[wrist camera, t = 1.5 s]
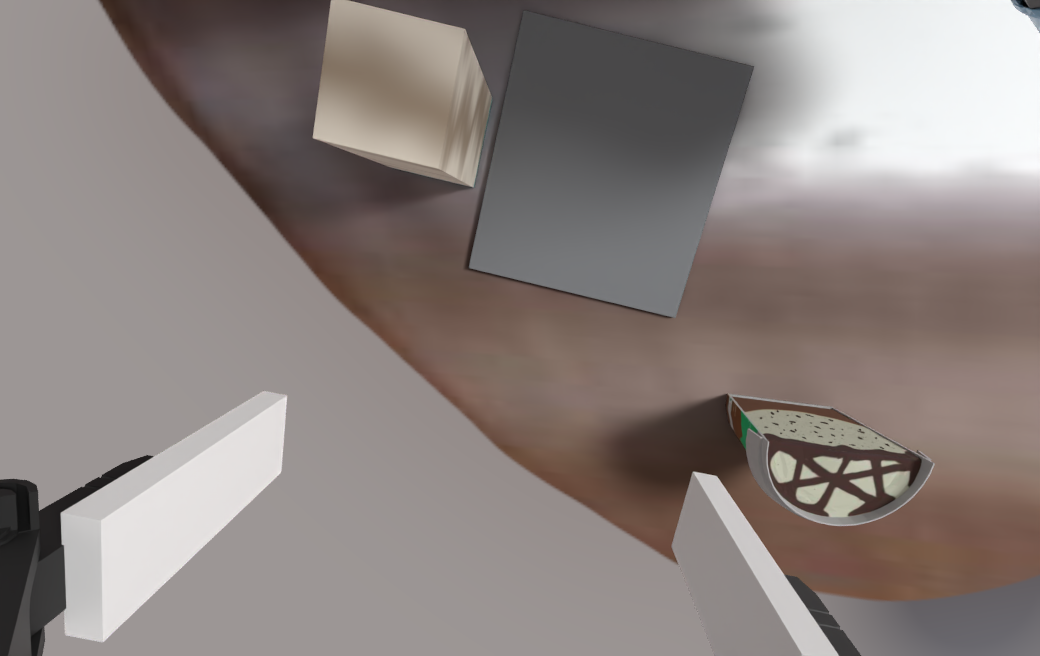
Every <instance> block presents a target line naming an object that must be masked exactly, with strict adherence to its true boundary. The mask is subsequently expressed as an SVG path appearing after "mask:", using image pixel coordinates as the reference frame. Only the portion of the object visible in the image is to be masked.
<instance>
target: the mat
mask: <svg viewBox="0 0 1040 656" xmlns="http://www.w3.org/2000/svg"><path fill="white" fill-rule="evenodd" d="M753 68H754V66H750V65H746V64H742V63H737V62H733V61H729V60H725V59H721V58H717V57H713V56H709V55H705V54H701V53H697V52H693V51H689V50H684V49H680V48H676V47H672V46H668V45H664V44H660V43H656V42H652V41H648V40H644V39H640V38H636V37H632V36H627V35H623V34H619V33H615V32H611V31H607V30H603V29H599V28H595V27H591V26H587V25H583V24H579V23H574V22H570V21H566V20H562V19H558V18H554V17H550V16H546V15H542V14H538V13H534V12H530V11H526V10H523V15H522V19H521V24H520V29H519V34H518V38H517V43H516V48H515V52H514V57H513V62H512V67H511V71H510V76H509V81H508V85H507V90H506V95H505V99H504V104H503V109H502V114H501V118H500V123H499V128H498V132H497V137H496V142H495V147H494V151H493V156H492V161H491V165H490V170H489V175H488V180H487V184H486V189H485V194H484V198H483V203H482V208H481V212H480V217H479V222H478V227H477V231H476V236H475V241H474V245H473V250H472V255H471V260H470V264H469V268H471V269H475V270H479V271H483V272H487V273H492V274H496V275H500V276H504V277H508V278H512V279H516V280H521V281H525V282H529V283H533V284H537V285H541V286H545V287H549V288H554V289H558V290H562V291H566V292H570V293H574V294H578V295H583V296H587V297H591V298H595V299H599V300H603V301H607V302H612V303H616V304H620V305H624V306H628V307H632V308H636V309H641V310H645V311H649V312H653V313H657V314H661V315H665V316H670V317H674V318H675V317H676V314H677V311H678V308H679V304H680V301H681V298H682V295H683V292H684V289H685V285H686V282H687V279H688V276H689V273H690V269H691V266H692V263H693V260H694V257H695V253H696V250H697V247H698V244H699V241H700V237H701V234H702V231H703V228H704V225H705V221H706V218H707V215H708V212H709V209H710V206H711V202H712V199H713V196H714V193H715V190H716V186H717V183H718V180H719V177H720V174H721V170H722V167H723V164H724V161H725V158H726V154H727V151H728V148H729V145H730V142H731V138H732V135H733V132H734V129H735V126H736V123H737V119H738V116H739V113H740V110H741V107H742V103H743V100H744V97H745V94H746V91H747V87H748V84H749V81H750V78H751V75H752V71H753Z"/></svg>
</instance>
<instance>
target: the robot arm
mask: <svg viewBox="0 0 1040 656" xmlns="http://www.w3.org/2000/svg"><path fill="white" fill-rule="evenodd" d="M1011 1H1012V3H1013V5H1014V6H1015V8H1016V9H1017V10H1019V11H1020V12H1022V13H1024V14H1026V15H1028V16H1029V18H1030V19H1031V21H1032V22H1033V24H1034V25H1035V27H1036V28H1037V30H1038V31H1039V32H1040V0H1011ZM286 403H287V395H283V394H278V393H272V392H267V391H263V392H261V393H259V394H258V395H256V396H254V397H253V398H251V399H249V400H248V401H246V402H244V403H243V404H241V405H239V406H238V407H236V408H234V409H233V410H231V411H229V412H228V413H226V414H225V415H223V416H221V417H219V418H218V419H216V420H214V421H213V422H211V423H209V424H208V425H206V426H204V427H203V428H201V429H199V430H198V431H196V432H194V433H193V434H191V435H189V436H188V437H186V438H184V439H183V440H181V441H179V442H178V443H176V444H174V445H173V446H171V447H169V448H168V449H166V450H165V451H163V452H161V453H159V454H158V455H156V456H148V455H147V456H144V457H140V458H137V459H134V460H131V461H128V462H125V463H122V464H121V465H119V466H117V467H115V468H113V469H112V470H110V471H108V472H106V473H105V474H103V475H102V477H101V478H99V477H98V478H96V479H94V480H92V481H91V482H89V483H87V484H86V485H85V487H80V488H78V489H77V490H75V491H73V492H72V493H70V494H68V495H66V496H65V497H63V498H61V499H59V500H57V501H56V502H54V503H52V504H51V505H49V506H47V507H45V508H44V509H42V510H40V511H39V505H38V490H37V486H36V485H35V484H33V483H31V482H29V481H27V480H18V479H4V480H0V656H42V654H43V648H44V642H45V632H44V626H45V625H46V624H47V623H49V622H50V621H51V620H52V619H54V618H55V617H56V616H57V615H59V614H60V613H61V612H62V611H63V610H64V615H65V616H64V618H65V635H68V636H73V637H78V638H83V639H88V640H94V641H99V642H104V641H105V640H106V639H107V638H108V637H109V636H110V635H111V634H112V633H113V632H114V631H115V630H116V629H117V628H118V627H119V626H121V624H123V623H124V622H125V621H126V620H127V619H128V618H129V617H130V616H131V615H132V614H133V613H134V612H135V611H136V610H137V609H138V608H139V607H140V606H141V605H143V604H144V603H145V602H146V601H147V600H148V599H149V598H150V597H151V596H152V595H153V594H154V593H155V592H156V591H157V590H158V589H159V588H160V587H161V586H163V584H165V583H166V582H167V581H168V580H169V579H170V578H171V577H172V576H173V575H174V574H175V573H176V572H177V571H178V570H179V569H180V568H181V567H183V566H184V565H185V564H186V562H188V561H189V560H190V559H191V558H192V557H193V556H194V555H195V554H196V553H197V552H198V551H199V550H200V549H201V548H202V547H204V545H206V544H207V543H208V542H209V541H210V540H211V539H212V538H213V537H214V536H215V535H216V534H217V533H218V532H219V531H220V530H221V529H222V528H223V527H225V525H227V524H228V523H229V522H230V521H231V520H232V519H233V518H234V517H235V516H236V515H237V514H238V513H239V512H240V511H241V510H242V509H243V508H244V507H246V506H247V505H248V504H249V503H250V502H251V501H252V500H253V499H254V498H255V497H256V496H257V495H258V494H259V493H260V492H261V491H262V490H263V489H264V488H265V487H266V486H268V485H269V484H270V483H271V482H272V481H273V480H274V479H275V478H276V477H277V476H278V475H279V474H280V473H281V469H282V456H283V444H284V430H285V417H286ZM672 549H673V551H674V554H675V557H676V559H677V562H678V564H679V567H680V569H681V572H682V574H683V577H684V579H685V582H686V584H687V587H688V589H689V592H690V595H691V597H692V600H693V602H694V605H695V607H696V610H697V612H698V615H699V618H700V620H701V623H702V625H703V628H704V630H705V633H706V635H707V638H708V640H709V643H710V646H711V648H712V651H713V653H714V656H861V655H860V653H859V652H858V651H857V649H856V648H855V646H854V645H853V644H852V642H851V641H850V640H849V639H848V637H847V636H846V634H845V633H844V631H843V630H840V626H839V625H838V623H837V622H836V621H835V619H834V618H833V616H832V615H829V611H828V610H827V608H826V607H825V606H824V604H823V603H822V601H821V600H820V599H819V597H818V596H817V595H816V593H814V592H813V591H812V590H811V589H810V588H809V587H808V586H806V585H805V584H804V583H803V582H802V581H801V580H800V579H798V578H797V577H794V576H789V575H784V574H783V573H782V571H781V570H780V568H779V567H778V565H777V564H776V562H775V561H774V559H773V558H772V556H771V555H770V554H769V552H768V551H767V549H766V548H765V546H764V545H763V543H762V542H761V540H760V539H759V537H758V536H757V534H756V533H755V531H754V530H753V529H752V527H751V526H750V524H749V523H748V521H747V520H746V518H745V517H744V515H743V514H742V512H741V511H740V509H739V508H738V507H737V505H736V504H735V502H734V501H733V499H732V498H731V496H730V495H729V493H728V492H727V490H726V489H725V487H724V486H723V484H722V483H721V482H720V480H719V479H718V477H717V476H714V475H709V474H704V473H698V472H693V473H692V476H691V480H690V483H689V487H688V490H687V494H686V497H685V501H684V504H683V508H682V511H681V515H680V518H679V522H678V525H677V529H676V532H675V536H674V539H673V543H672Z"/></svg>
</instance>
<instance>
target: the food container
mask: <svg viewBox="0 0 1040 656" xmlns="http://www.w3.org/2000/svg"><path fill="white" fill-rule="evenodd" d="M726 412H727V417H728V422H729V424H730V426H731V427H732V429H733V431H734V433H735V434H736V436H737V438H738V439H739V440H740V442H741V443H742V445H743V446H744V448H745V449H746V454H747V459H748V464H749V467H750V469H751V472H752V474H753V476H754V478H755V480H756V481H757V483H758V485H759V486H760V487H761V488H762V489H763V491H764V492H765V493H766V494H767V495H768V496H769V497H771V498H772V499H773V500H774V501H776V502H777V503H778V504H780V505H781V506H783V507H784V508H786V509H787V510H789V511H791V512H793V513H794V514H796V515H798V516H800V517H803V518H805V519H808V520H811V521H815V522H818V523H822V524H827V525H835V526H850V525H859V524H863V523H868V522H872V521H874V520H877V519H880V518H883V517H885V516H887V515H889V514H891V513H893V512H894V511H896V510H897V509H899V508H900V507H902V506H903V505H905V504H906V503H907V502H908V501H909V500H910V499H911V498H913V497H914V496H915V495H916V494H917V492H918V491H919V490H920V489H921V488H922V486H923V485H924V484H925V482H926V480H927V479H928V477H929V475H930V474H931V471H932V469H933V467H934V464H935V463H933V462H932V461H931V459H930V458H929V457H927V456H926V455H925V454H923V453H922V452H921V451H918V450H917V452H914V451H912V450H910V449H908V448H907V447H905V446H903V445H901V444H899V443H898V442H896V441H894V440H892V439H890V438H889V437H887V436H885V435H883V434H881V433H879V432H878V431H876V430H874V429H872V428H870V427H869V426H867V425H865V424H863V423H861V422H860V421H858V420H856V419H854V418H852V417H850V416H849V415H847V414H845V413H843V412H841V411H840V410H838V409H836V408H834V407H829V406H821V405H813V404H805V403H797V402H790V401H782V400H774V399H766V398H758V397H751V396H743V395H735V394H727V398H726Z"/></svg>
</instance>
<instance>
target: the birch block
mask: <svg viewBox="0 0 1040 656" xmlns="http://www.w3.org/2000/svg"><path fill="white" fill-rule="evenodd" d="M491 104H492V96H491V94H490V91H489V88H488V86H487V83H486V81H485V78H484V76H483V73H482V71H481V68H480V66H479V63H478V60H477V58H476V55H475V53H474V50H473V48H472V45H471V43H470V40H469V38H468V35H467V32H466V30H465V29H463V28H459V27H455V26H451V25H447V24H443V23H439V22H434V21H430V20H426V19H422V18H418V17H414V16H410V15H406V14H402V13H398V12H394V11H390V10H385V9H381V8H377V7H373V6H369V5H365V4H361V3H357V2H353V1H349V0H331V5H330V12H329V20H328V27H327V35H326V42H325V50H324V57H323V65H322V72H321V80H320V87H319V95H318V102H317V110H316V117H315V125H314V132H313V138H314V139H316V140H319V141H322V142H324V143H327V144H330V145H332V146H335V147H338V148H340V149H343V150H346V151H348V152H351V153H354V154H356V155H359V156H361V157H364V158H367V159H369V160H372V161H375V162H377V163H380V164H383V165H385V166H388V167H391V168H395V169H399V170H403V171H407V172H411V173H415V174H419V175H423V176H427V177H432V178H436V179H440V180H444V181H448V182H452V183H456V184H460V185H465V186H469V187H473V188H474V186H475V181H476V176H477V171H478V166H479V161H480V157H481V152H482V147H483V142H484V137H485V132H486V128H487V123H488V118H489V113H490V108H491Z"/></svg>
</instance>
